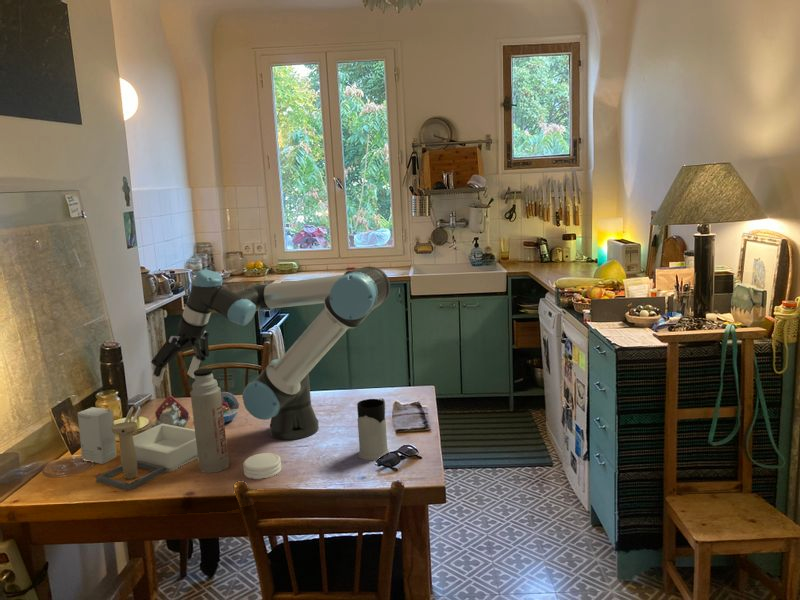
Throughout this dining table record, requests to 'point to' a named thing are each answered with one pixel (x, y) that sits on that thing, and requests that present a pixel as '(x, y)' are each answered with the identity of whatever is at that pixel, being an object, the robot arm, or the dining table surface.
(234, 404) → the cell model
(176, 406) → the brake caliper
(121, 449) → the handle
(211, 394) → the thermos bottle
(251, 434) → the dining table surface
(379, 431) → the white and black cylinder
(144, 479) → the rectangular frame
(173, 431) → the parts bin
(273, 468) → the coaster
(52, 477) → the dining table surface
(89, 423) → the skincare box
